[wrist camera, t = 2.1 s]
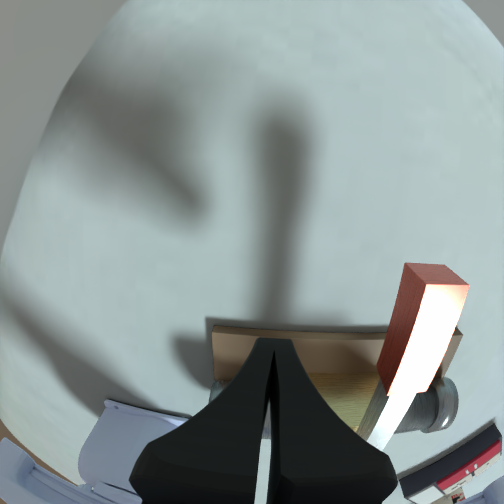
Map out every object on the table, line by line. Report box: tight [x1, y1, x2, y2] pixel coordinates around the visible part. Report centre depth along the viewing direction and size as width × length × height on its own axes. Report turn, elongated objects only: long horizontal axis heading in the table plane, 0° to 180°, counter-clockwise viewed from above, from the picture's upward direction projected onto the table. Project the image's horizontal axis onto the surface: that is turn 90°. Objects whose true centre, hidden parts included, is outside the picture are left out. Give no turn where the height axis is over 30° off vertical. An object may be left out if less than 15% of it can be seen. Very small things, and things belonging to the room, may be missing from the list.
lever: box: [356, 263, 469, 451], centre depth 10 cm, size 3×14×2 cm, turn 178°
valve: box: [208, 372, 458, 439], centre depth 16 cm, size 18×5×6 cm, turn 88°
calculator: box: [399, 424, 502, 504], centre depth 23 cm, size 11×4×15 cm
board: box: [212, 325, 463, 381], centre depth 19 cm, size 18×11×1 cm, turn 88°
